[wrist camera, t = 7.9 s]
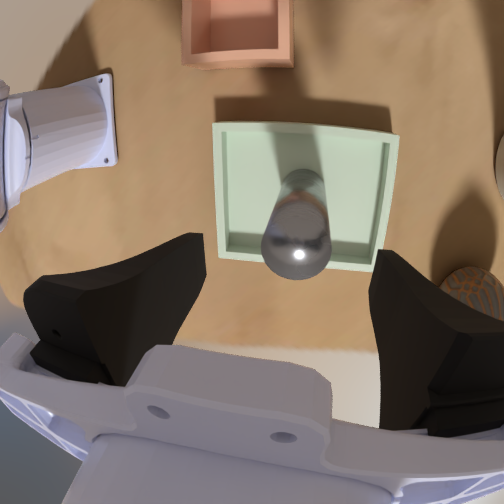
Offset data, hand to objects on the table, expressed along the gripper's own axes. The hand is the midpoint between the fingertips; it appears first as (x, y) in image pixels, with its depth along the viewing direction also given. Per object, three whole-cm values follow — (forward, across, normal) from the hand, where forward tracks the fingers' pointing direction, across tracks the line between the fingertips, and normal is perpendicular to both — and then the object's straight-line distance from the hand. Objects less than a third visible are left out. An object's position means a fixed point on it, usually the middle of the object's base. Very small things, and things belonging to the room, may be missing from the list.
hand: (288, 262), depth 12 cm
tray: (+10, 0, 0) cm, 10 cm away
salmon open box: (+10, +4, -12) cm, 16 cm away
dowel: (+10, 0, 0) cm, 10 cm away
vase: (+11, -15, +7) cm, 20 cm away
